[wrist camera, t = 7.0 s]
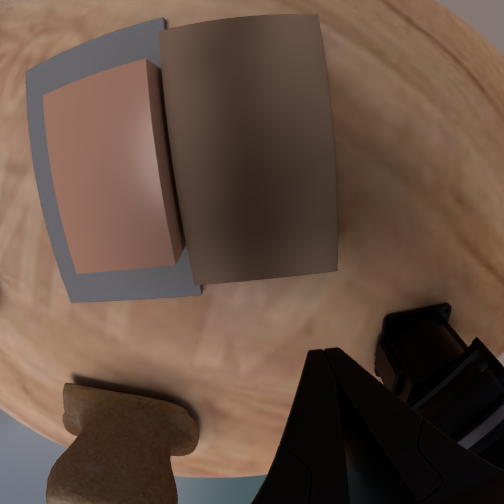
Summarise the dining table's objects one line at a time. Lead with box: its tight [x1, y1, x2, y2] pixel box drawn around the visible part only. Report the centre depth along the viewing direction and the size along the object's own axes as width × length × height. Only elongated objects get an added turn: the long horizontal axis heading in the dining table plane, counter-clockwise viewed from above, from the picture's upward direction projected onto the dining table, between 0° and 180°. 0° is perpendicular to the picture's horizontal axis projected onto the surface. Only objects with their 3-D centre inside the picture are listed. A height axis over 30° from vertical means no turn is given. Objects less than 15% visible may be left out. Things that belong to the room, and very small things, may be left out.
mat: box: [26, 18, 203, 303], centre depth 17 cm, size 11×18×1 cm, turn 6°
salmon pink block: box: [43, 59, 186, 274], centre depth 14 cm, size 4×10×6 cm
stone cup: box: [46, 383, 199, 504], centre depth 18 cm, size 15×12×15 cm
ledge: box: [159, 14, 338, 285], centre depth 15 cm, size 8×14×3 cm, turn 6°
